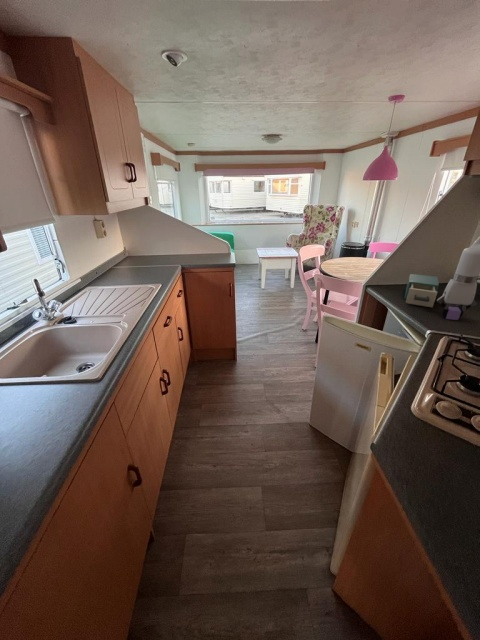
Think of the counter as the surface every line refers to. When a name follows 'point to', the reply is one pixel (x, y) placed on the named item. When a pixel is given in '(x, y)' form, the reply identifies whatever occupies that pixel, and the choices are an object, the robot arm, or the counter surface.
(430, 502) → the counter surface
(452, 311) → the purple cube
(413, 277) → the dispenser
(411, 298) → the drawer
